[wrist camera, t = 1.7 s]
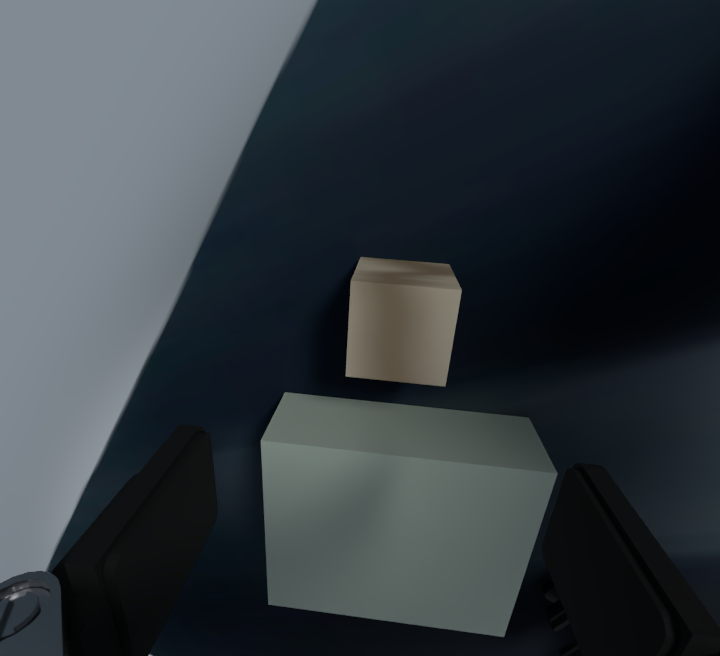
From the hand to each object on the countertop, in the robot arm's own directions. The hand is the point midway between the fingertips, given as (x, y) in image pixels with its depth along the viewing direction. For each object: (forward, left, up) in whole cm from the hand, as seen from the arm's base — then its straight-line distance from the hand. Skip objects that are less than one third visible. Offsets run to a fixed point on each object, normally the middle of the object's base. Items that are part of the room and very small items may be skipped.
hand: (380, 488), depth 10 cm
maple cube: (0, 0, -14) cm, 14 cm away
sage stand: (-1, +14, -14) cm, 20 cm away
